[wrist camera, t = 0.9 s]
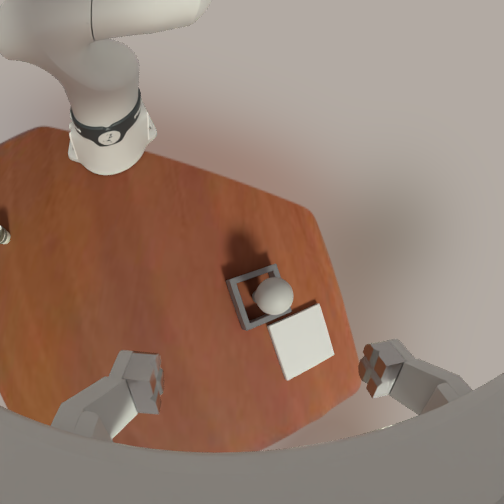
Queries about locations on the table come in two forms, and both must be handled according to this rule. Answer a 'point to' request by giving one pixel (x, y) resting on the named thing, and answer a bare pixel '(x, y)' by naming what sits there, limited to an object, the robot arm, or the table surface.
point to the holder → (238, 302)
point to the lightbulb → (273, 296)
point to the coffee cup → (4, 236)
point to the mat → (301, 341)
